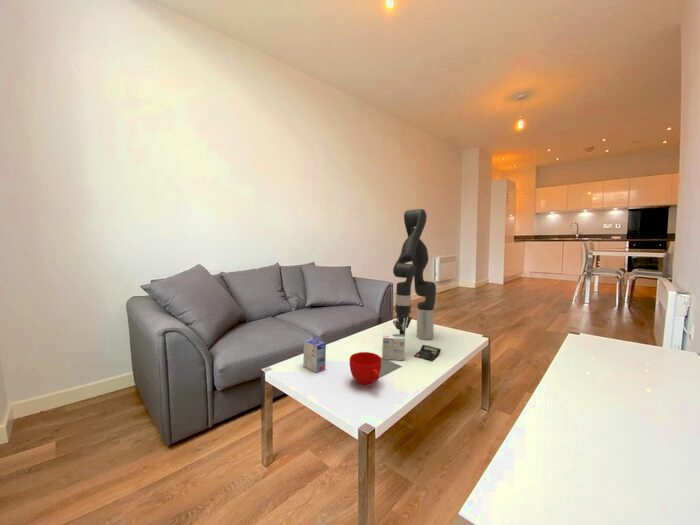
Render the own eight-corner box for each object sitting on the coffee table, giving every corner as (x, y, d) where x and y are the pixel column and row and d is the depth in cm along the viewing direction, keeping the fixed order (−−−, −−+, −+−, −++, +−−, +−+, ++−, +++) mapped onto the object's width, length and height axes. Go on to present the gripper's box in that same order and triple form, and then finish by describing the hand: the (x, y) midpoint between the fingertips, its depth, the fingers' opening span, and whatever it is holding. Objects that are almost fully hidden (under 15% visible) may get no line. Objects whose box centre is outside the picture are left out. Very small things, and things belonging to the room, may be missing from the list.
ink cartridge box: (326, 369, 132) (326, 337, 130) (316, 373, 128) (316, 341, 126) (312, 362, 138) (312, 332, 137) (302, 366, 134) (302, 335, 133)
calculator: (413, 357, 146) (414, 351, 146) (422, 349, 155) (423, 344, 155) (432, 362, 140) (432, 356, 140) (440, 354, 150) (440, 348, 149)
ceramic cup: (361, 398, 109) (362, 372, 108) (344, 377, 124) (344, 354, 123) (392, 391, 114) (392, 366, 113) (371, 372, 129) (372, 350, 128)
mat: (372, 354, 148) (372, 354, 148) (401, 366, 135) (401, 366, 135) (349, 364, 137) (349, 363, 137) (378, 378, 124) (378, 377, 124)
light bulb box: (403, 355, 148) (404, 334, 147) (404, 360, 141) (405, 338, 140) (381, 353, 149) (382, 332, 148) (382, 359, 142) (382, 337, 141)
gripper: (404, 300, 154) (403, 332, 156) (388, 304, 145) (387, 338, 147) (417, 302, 149) (415, 335, 150) (401, 306, 140) (400, 342, 141)
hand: (402, 336), depth 149 cm, fingers closed
